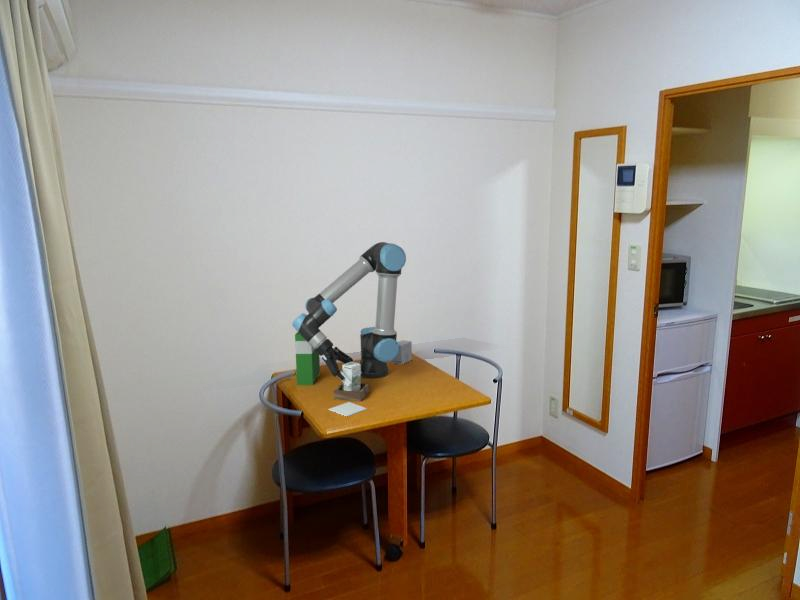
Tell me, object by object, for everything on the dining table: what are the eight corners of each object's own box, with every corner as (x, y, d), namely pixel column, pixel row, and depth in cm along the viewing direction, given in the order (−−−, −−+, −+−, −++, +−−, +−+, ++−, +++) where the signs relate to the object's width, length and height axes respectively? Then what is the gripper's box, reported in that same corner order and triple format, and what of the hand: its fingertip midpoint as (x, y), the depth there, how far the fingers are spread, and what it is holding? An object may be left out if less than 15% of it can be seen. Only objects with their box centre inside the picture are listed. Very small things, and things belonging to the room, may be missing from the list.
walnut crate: (343, 390, 257) (343, 381, 256) (369, 392, 254) (368, 383, 253) (334, 399, 245) (334, 390, 244) (360, 401, 242) (360, 392, 242)
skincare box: (401, 358, 305) (401, 339, 304) (412, 360, 302) (412, 341, 300) (391, 363, 297) (390, 344, 295) (401, 365, 293) (401, 345, 292)
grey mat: (349, 402, 241) (349, 401, 241) (366, 409, 234) (366, 408, 234) (328, 409, 233) (328, 408, 233) (346, 416, 226) (346, 415, 226)
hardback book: (305, 373, 282) (303, 325, 277) (320, 373, 281) (318, 325, 277) (297, 385, 264) (294, 334, 260) (312, 385, 264) (311, 334, 259)
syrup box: (351, 392, 253) (350, 361, 251) (361, 395, 250) (360, 363, 247) (342, 396, 249) (341, 364, 247) (352, 399, 245) (351, 366, 243)
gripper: (326, 342, 261) (358, 376, 261) (304, 357, 238) (339, 394, 237) (336, 331, 259) (369, 365, 258) (315, 345, 235) (351, 383, 235)
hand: (354, 379), depth 248 cm, fingers open, 13 cm apart
